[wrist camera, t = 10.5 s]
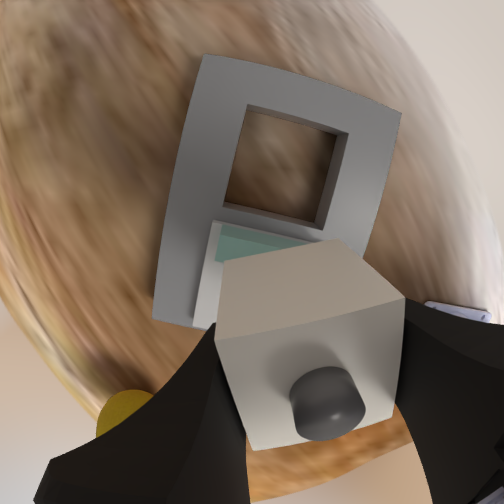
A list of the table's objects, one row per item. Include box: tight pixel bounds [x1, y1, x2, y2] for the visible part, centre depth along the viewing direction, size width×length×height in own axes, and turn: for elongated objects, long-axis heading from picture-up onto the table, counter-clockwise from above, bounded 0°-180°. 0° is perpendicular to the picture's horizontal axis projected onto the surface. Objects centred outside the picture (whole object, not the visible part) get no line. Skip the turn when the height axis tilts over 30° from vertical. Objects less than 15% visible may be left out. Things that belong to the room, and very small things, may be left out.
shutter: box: [192, 220, 314, 329], centre depth 15 cm, size 6×6×3 cm
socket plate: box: [152, 54, 402, 331], centre depth 16 cm, size 11×15×2 cm
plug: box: [214, 238, 405, 451], centre depth 8 cm, size 4×4×6 cm
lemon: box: [96, 390, 154, 438], centre depth 17 cm, size 6×6×8 cm
